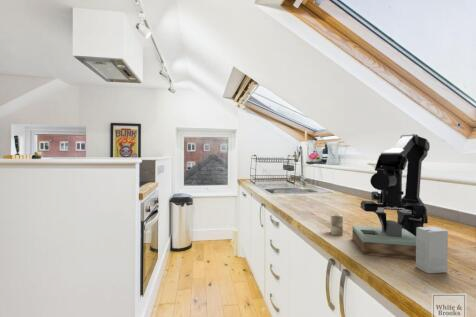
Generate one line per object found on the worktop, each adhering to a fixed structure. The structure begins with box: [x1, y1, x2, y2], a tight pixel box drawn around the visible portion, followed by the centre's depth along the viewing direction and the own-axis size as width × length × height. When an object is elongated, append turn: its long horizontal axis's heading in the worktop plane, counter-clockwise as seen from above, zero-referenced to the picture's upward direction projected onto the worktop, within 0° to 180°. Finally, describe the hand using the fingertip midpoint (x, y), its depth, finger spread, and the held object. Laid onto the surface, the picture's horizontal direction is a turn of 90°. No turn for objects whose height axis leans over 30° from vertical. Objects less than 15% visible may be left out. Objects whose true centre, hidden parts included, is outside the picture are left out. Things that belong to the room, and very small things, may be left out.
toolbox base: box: [351, 229, 416, 260], centre depth 81 cm, size 18×14×4 cm
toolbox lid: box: [351, 219, 416, 246], centre depth 81 cm, size 18×14×5 cm
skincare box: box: [415, 226, 449, 274], centre depth 66 cm, size 6×4×12 cm
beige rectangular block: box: [330, 212, 344, 237], centre depth 96 cm, size 4×4×8 cm
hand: (391, 231), depth 81 cm, fingers closed on toolbox lid, 4 cm apart
